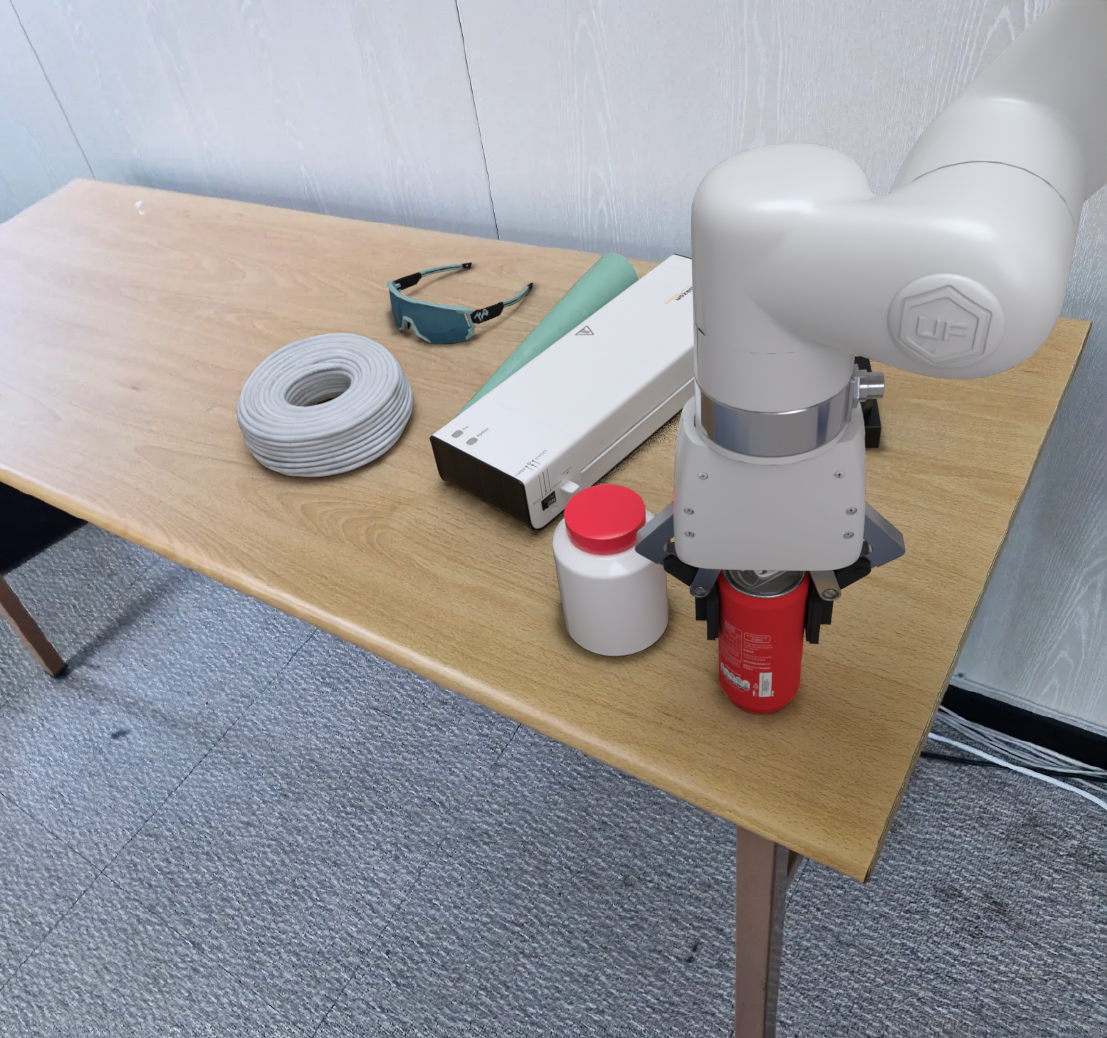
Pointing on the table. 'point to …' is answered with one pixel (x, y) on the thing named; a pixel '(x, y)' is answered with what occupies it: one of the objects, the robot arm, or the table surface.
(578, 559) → the pill bottle
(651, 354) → the laminator
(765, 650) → the beverage can
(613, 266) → the long green cone
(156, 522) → the table surface
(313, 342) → the cable
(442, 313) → the sunglasses
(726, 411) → the robot arm
